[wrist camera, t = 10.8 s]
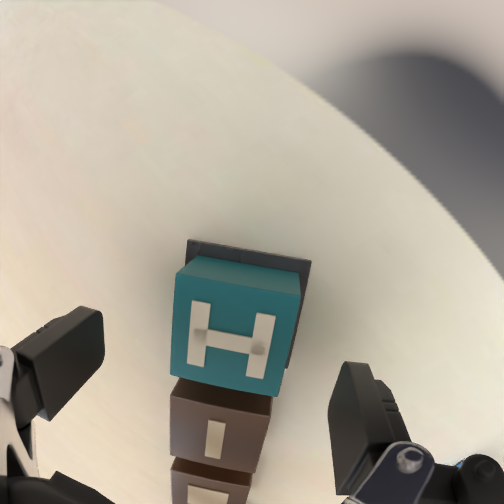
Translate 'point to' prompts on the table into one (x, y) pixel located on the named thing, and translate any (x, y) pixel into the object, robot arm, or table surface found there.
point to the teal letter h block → (233, 324)
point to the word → (222, 411)
